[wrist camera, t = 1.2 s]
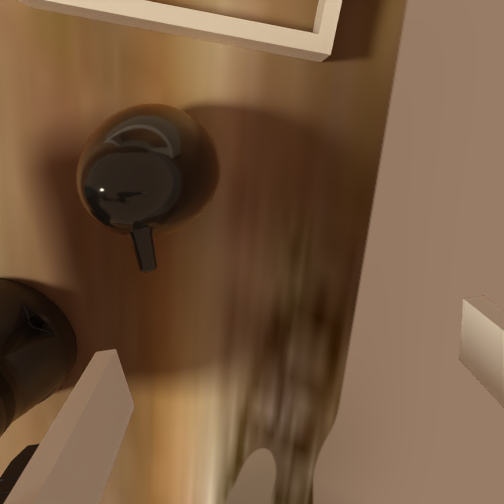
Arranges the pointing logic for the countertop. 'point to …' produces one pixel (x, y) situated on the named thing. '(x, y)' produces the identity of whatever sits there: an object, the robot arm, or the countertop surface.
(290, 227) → the countertop surface
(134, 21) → the box
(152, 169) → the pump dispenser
